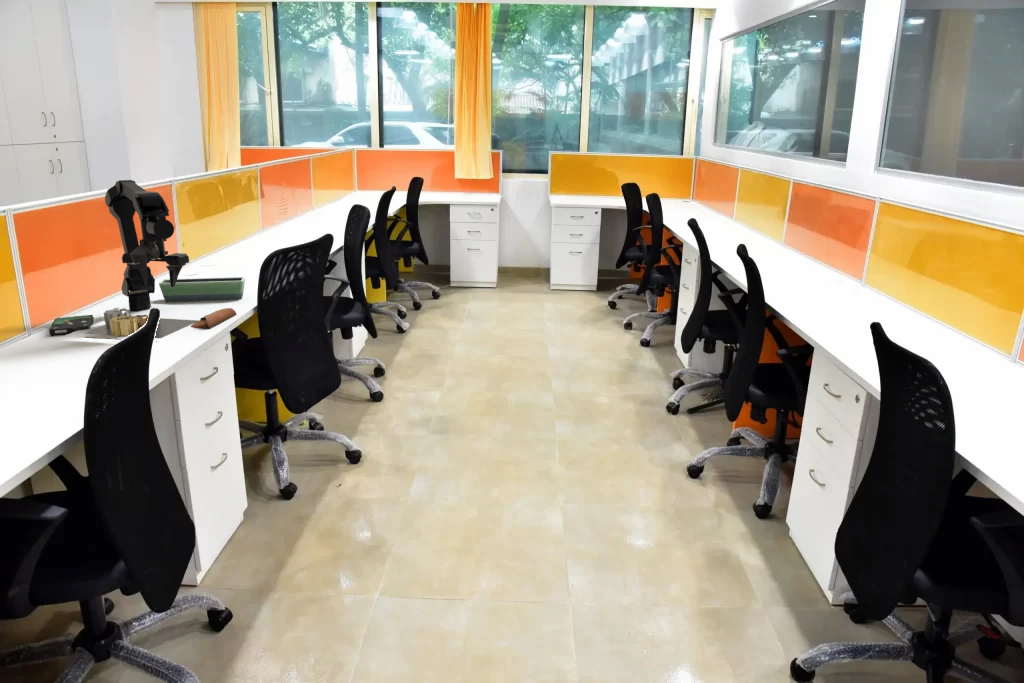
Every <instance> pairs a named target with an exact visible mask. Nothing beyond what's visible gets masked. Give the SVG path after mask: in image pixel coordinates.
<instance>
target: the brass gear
mask: <svg viewBox="0 0 1024 683" xmlns="http://www.w3.org/2000/svg"><path fill="white" fill-rule="evenodd" d="M130 315H131V314H130ZM130 315H129V316H119V317H115V318H114V317H113V318H111V320H110V327H111V334H112V335H111V336H114V335H116V336H115V337H129V336H128V335H130V334H132V333H134V332H135V331H137V330H138V324H137V317H133V316H134V315H131V316H130ZM121 319H126V320H121Z"/></svg>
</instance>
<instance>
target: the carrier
mask: <svg viewBox="0 0 1024 683" xmlns="http://www.w3.org/2000/svg"><path fill="white" fill-rule="evenodd" d="M129 315H130V316H133V317H137V324H138V329H139V328H140V327H142V326H143V325H144V324H145V323H146V321H147V319H148V316H149V315H148V314H137V315H131V311H130V308H129V309H127V308H120V307H114V308H113V309H109V310H107V309H106V310H105V311H104V312H103V317H104V318H103V319H104V323H105V325H102V326H100V327H98V328H95V329H92V330H89V331H88V332H85V333H84V335H87V334H88V335H100V336H115V337H117V336H116V335H112V334H111V327H110V320H111V318H113V317H114V318H115V317H119V316H129ZM121 320H126V319H121ZM198 321H199V320H195V319H179V318H177V319H176V318H164V317H163V318H161V317H160V320H159V324H158V328H157V331H156V336H155V338H154V339H162V338H165V337H167V336H169V335H172V334H173V333H176V332H178V331H180V330H182V329H185V328H188V327H189V326H191V325H193V324H194V323H196V322H198ZM84 338H88V339H94V337H93V336H92V337H91V336H85V337H84ZM121 339H122V338H120V339H119V338H116V340H119V341H122V340H121ZM106 340H110V338H107V337H106ZM155 343H158V342H157V341H156V342H155Z"/></svg>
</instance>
